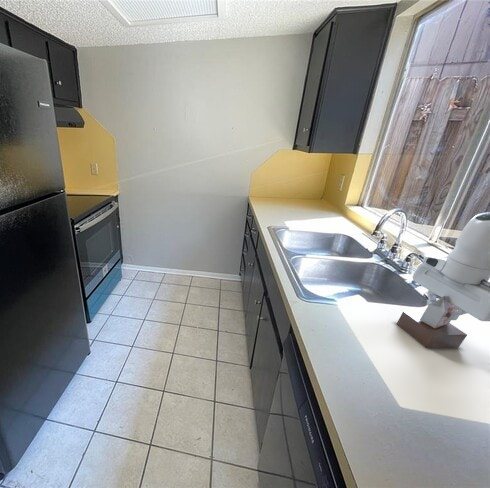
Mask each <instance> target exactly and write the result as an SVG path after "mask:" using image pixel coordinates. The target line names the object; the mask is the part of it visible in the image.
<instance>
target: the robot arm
mask: <svg viewBox="0 0 490 488" xmlns="http://www.w3.org/2000/svg"><path fill="white" fill-rule="evenodd" d="M412 280H413V282H415V283H416V284H417V285H419V286H421V287H422V288H424V289H426V290H428V291H427V293H426V294H427V299H428V300H427V301H426V303H425V304H426V305H427V306H428V305H429V304H431V303H433V302H435V301H437V296H438V297H440V298H442V297H443V296H446V295H447V296H448V298H447V301H448V302H450V303H452V304H453V305H455V306H457V308H456V310H457V311H456V312H448V314H447V315H446V317H447V318H449V319H451V321H457V320H458V319H459V317H460V316H463V315H466V314H469V315H470V316H472V317H473V318H475V319H477V320H479V321H480V322H490V281H489V280H490V211H489V212H482V213H478V214H476V215H475V216H473V217H472V218H471V219H470V220H469V221H468V222H467V223H466V224H465V226H464V227H463V229H462V230H461V232H460V233H459V235H458V236H457V238H456V240H455V245H454V247H453V249H452V250H451V251H450V252H449V253H448V254H447V256H444V255H443V256H441V255H425V256H424V257H423V259H422V262H421V263H420V264H419V265H418V266H417V267H416V269H415V271H414V273H413V275H412Z"/></svg>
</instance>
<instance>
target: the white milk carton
mask: <svg viewBox="0 0 490 488" xmlns="http://www.w3.org/2000/svg"><path fill="white" fill-rule="evenodd" d="M447 298H448V296H447V295H446V296H443V297H442V298H441V297H440V298H439V299H436V301H435V302H433V303H431V304H429V305H427V307H426V309H425V311H423V312H424V314H423V316H422V317H421V319H420V320H421V321H422V322H424V323H426V324H428V325H430V326H431V327H433V328H438V327H441V326H444V325H447V324H449V323H450V324H451V322H452V320H451V319H449V318H447V317H446V315H447V314H448V312H456V311H457V310H456V308H457V306H455V305H453V304H452V303H450V302H448V301H447Z"/></svg>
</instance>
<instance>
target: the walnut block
mask: <svg viewBox="0 0 490 488" xmlns="http://www.w3.org/2000/svg"><path fill="white" fill-rule="evenodd" d="M424 312H425V311H402V313H401V315H400V317H399V319H398V320H397V322H396V325H398V326H399V327H400V328H401V329H403V331H405V332H406V333H407V334H408V335H410V336H411V337H412V338H414V339H415V340H416V341H417V342H418V343H420V345H422V346H423V347H424V348H428V349H459V347H460V346H461V345H462V344H463V342H464V340H466V338H467V336H468V334H467V333H465V332H464V331H462V330H461V329H459V328H458V327H456V326H455V325H454V324H452V323H451V322H450V323H449V324H447V325H444V326H441V327H438V328H433V327H431V326H430V325H428V324H426V323H424V322H422V321H421V320H420V319H421V317H422V316H423V314H424Z"/></svg>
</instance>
